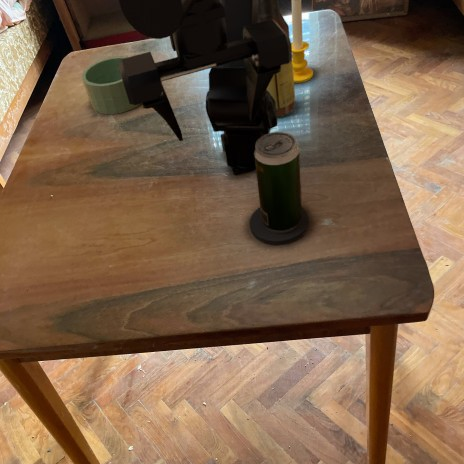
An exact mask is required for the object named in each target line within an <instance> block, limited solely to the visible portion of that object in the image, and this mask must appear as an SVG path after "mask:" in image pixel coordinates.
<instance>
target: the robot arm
mask: <svg viewBox="0 0 464 464" xmlns="http://www.w3.org/2000/svg"><path fill="white" fill-rule="evenodd" d="M118 2H119V6H120V7H119V8H120V10H121V12H122V14H123V16H124V18H125V19H126V21H127V22H128V24H129V25H130V26H131V27H132V28H133V29H134V30H135V31H136V32H137V33H139V34H140V35H143V36H144V37H146V38H150V39H154V40H162V39H167V38H169V41H170V45H171V48H172V50H173V52H176V57H172V58H168V59H165V60H161V61H157V62H155V60H154V57H153V55H152V52H151V51H147V52H143V53H140V54H136V55H132V56H127V57H128V58H124V59H121V61H120V63H119V65H118V68H119V71H120V74H121V78H122V81H123V84H124V87H125V91H126V94H127V97H128V100H129V104H132V105H138V104H140V105H142V108H143V109H146V110H147V109H153V110H154V111H155V112H156V113H157V114H158V115H159V116H160V117H161V118H162V119H163V120H164V121H165V122H166V124H167V125H168V127H169V128H170V129H171V131H172V133H174V136H175V137H176V138H177V139H178V141H179V142H182V141H184V138H183V133H182V130H181V128H180V125H179V122H178V119H177V118H176V115H175V111H174V110H173V108H172V105H171V102H170V100H169V97H168V95H167V92H166V90H165V87H164V85H163V82H165V81H169V80H172V79H176V78H179V77H183V76H188V75H190V74H194V73H198V72H201V71H205V70H208V69H209V72H208V91H207V93H206V96H205V113H206V115H207V117H208V121H209V123H210V125H211V128H212V131H213V132H214V133H215V132H216V133H218V132H223V133H221V134H220V141H221V148H222V153H223V158H224V161H225V163H226V166H227V167H230V170H231V172H232V175H234V176H240V175H242V174H246V173H251V172H256V166H255V157H254V152H255V145H256V142H257V140H258V139H259V138H261V137H262V136H264V135H266V134H269V133H271V130H272V129H274V128H276V127H277V126H278V124H279V123H278V122H279V121H278V117H277V109H276V101H275V100H274V98H273V97H272V95H271V94H270V93H269V91H267V87H268V85H269V83H270V81H271V79H272V77H273V75H274V74H276V73H279V72H280V71H281V65H284V64H287V63H290V61H291V60H293V59H292V46H291V43H292V42H291V38H290V35H289V36H288V35H287V34H286V33H285V32H284V30H283V29H282V28H281V27H280V26H279V25H278V23H276V22H275V21H274V20H273V19H270V20H266V21H263V22H259V23H258V3H259V0H118ZM138 106H139V105H138Z"/></svg>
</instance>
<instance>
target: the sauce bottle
mask: <svg viewBox="0 0 464 464" xmlns="http://www.w3.org/2000/svg"><path fill="white" fill-rule="evenodd" d="M279 2H280V1H279V0H259V3H258V23H259V22H263V21H266V20H270V19H273V20H274V21H275V22H276V23H278V25H279V26H280V27H281V28H282V29H283V30H284V32H285V33H286V34H287V35H288V36H289V37H290V27H289V24H288V23H287V22H286V19H285V18H284V16H283V15H282V13H281V7H280V3H279ZM292 60H293V59H292ZM292 60H291V61H290V63H287V64H284V65H281V71H280V72H279V73H276V74H274V75H273V77H272V79H271V81H270V83H269V85H268V87H267V91H269V93H270V94H271V95H272V97H273V98H274V100H275V101H276V109H277V118H281V117H284V116H286V115H289V114H290V113H292V112H293V110H294V109H295V106H296V101H295V99H296V91H295V83H294V76H293V64H292Z"/></svg>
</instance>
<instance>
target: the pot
mask: <svg viewBox="0 0 464 464" xmlns="http://www.w3.org/2000/svg"><path fill="white" fill-rule="evenodd" d="M128 57H129V56H125V55H123V56H122V55H121V56H111V57H107V58H103V59H101V60H98V61H96V62H94V63H92V64H91V65H89V66H88V67H87V68H86V69H85V70H84V71H83V72H82V74H81V78H82V79H81V80H82V83H83V85H84V88H85V91H86V95H87V96H88V100H89V102H90V104H91V105H90V106H92V109H93V110H94V111H95V112H97V113H100V114H102V115H117V114H121V113H125V112H128V111H131V110H133V109H135V108H137V107H138V106H140V105H141V104H138V105H132V104H129V100H128V97H127V94H126V91H125V87H124V84H123V81H122V78H121V74H120V71H119V68H118V65H119V63H120V61H121V59H124V58H128Z"/></svg>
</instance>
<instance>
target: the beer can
mask: <svg viewBox="0 0 464 464" xmlns="http://www.w3.org/2000/svg"><path fill="white" fill-rule="evenodd" d="M254 157H255V166H256V170H255V173H256V174H255V175H256V182H257V191H258V199H259V208H260V209H261V218H262V222H263V224H264V225H265V226H266V228H267V229H268V230H270V231H272V232H275V233H286V232H289V231H292V230H293V229H295V228H296V227H297V226H298V224H299V222H300V220H301V217H302V209H301V207H302V186H301V185H302V184H301V183H302V182H301V156H300V147H299V145H298V141H297V138H296V137H295V136H294V135H293V134H291V133H289V132H284V131H274V132H270V133H269V134H266V135H264V136H262V137H261V138H259V139H258V140H257V142H256V145H255V152H254Z"/></svg>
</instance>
